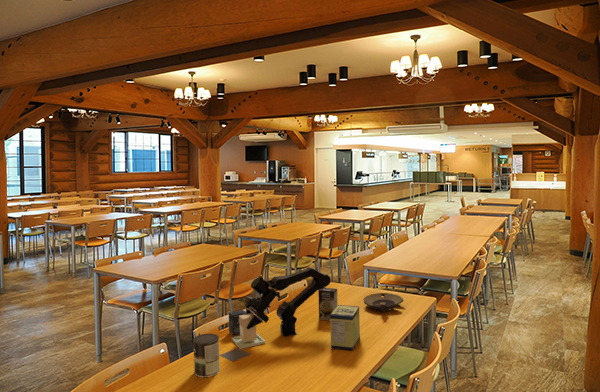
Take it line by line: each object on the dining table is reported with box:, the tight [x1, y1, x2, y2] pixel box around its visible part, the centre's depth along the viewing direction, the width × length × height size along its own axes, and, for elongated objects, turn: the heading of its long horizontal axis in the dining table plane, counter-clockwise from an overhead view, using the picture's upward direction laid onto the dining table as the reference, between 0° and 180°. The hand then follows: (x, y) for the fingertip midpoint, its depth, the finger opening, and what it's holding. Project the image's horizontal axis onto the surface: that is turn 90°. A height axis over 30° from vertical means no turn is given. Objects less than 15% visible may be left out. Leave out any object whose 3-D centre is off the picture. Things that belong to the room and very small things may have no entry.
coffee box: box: [317, 287, 338, 321], centre depth 236 cm, size 9×6×16 cm
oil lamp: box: [363, 292, 404, 312], centre depth 250 cm, size 22×30×8 cm
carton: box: [239, 314, 257, 343], centre depth 207 cm, size 6×6×11 cm
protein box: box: [329, 304, 361, 351], centre depth 202 cm, size 10×16×16 cm
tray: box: [231, 332, 266, 350], centre depth 207 cm, size 12×12×2 cm
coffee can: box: [192, 333, 221, 378], centre depth 177 cm, size 10×10×14 cm
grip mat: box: [219, 347, 252, 363], centre depth 193 cm, size 10×10×1 cm
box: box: [228, 309, 246, 336], centre depth 220 cm, size 8×6×11 cm
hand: (244, 326), depth 206 cm, fingers closed on carton, 6 cm apart
